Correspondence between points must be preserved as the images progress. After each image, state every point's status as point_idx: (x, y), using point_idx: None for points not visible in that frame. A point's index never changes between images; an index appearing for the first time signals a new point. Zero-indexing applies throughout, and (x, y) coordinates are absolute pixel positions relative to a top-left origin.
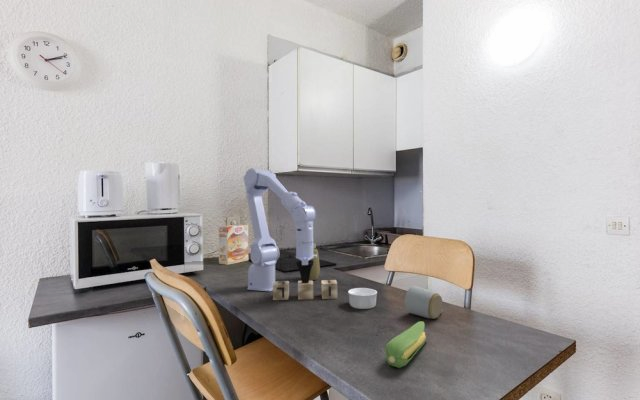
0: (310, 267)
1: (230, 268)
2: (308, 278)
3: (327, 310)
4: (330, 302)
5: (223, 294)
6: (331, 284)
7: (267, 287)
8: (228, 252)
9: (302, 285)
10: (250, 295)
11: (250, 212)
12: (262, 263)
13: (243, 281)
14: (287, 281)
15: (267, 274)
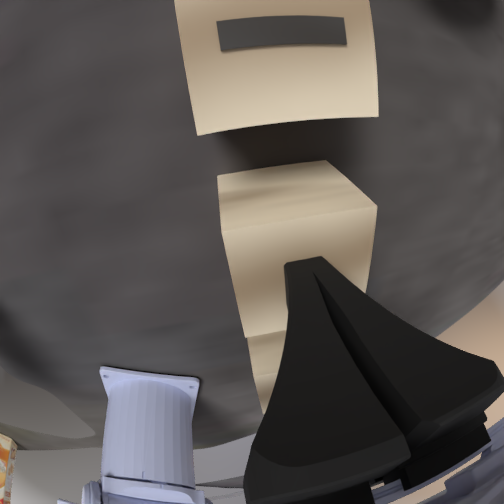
0: (454, 359)
1: (26, 438)
2: (344, 282)
3: (487, 96)
4: (394, 52)
5: (246, 434)
6: (367, 16)
7: (182, 397)
8: (5, 460)
9: (363, 281)
10: (253, 402)
11: None
12: (202, 501)
13: (101, 430)
14: (268, 378)
15: (182, 449)
